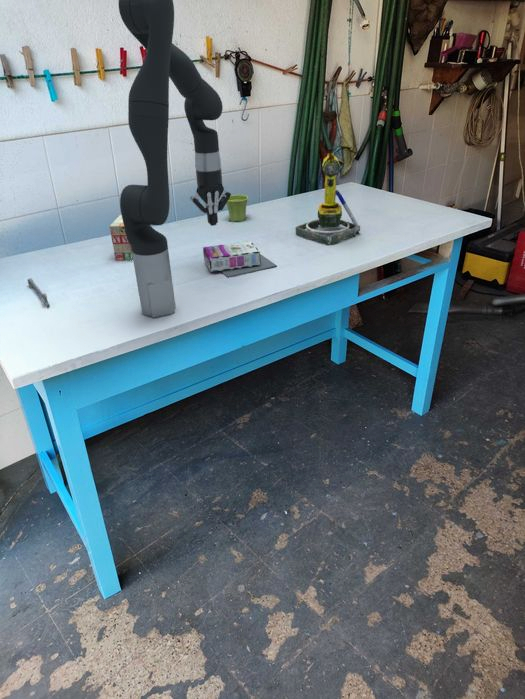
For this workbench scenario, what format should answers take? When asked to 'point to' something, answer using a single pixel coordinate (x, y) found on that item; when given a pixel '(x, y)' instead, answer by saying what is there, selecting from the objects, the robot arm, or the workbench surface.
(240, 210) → the plant pot
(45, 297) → the combination wrench
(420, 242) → the workbench surface
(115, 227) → the stack of blocks
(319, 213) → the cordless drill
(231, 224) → the workbench surface
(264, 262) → the rubber mat
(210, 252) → the candy bar box
